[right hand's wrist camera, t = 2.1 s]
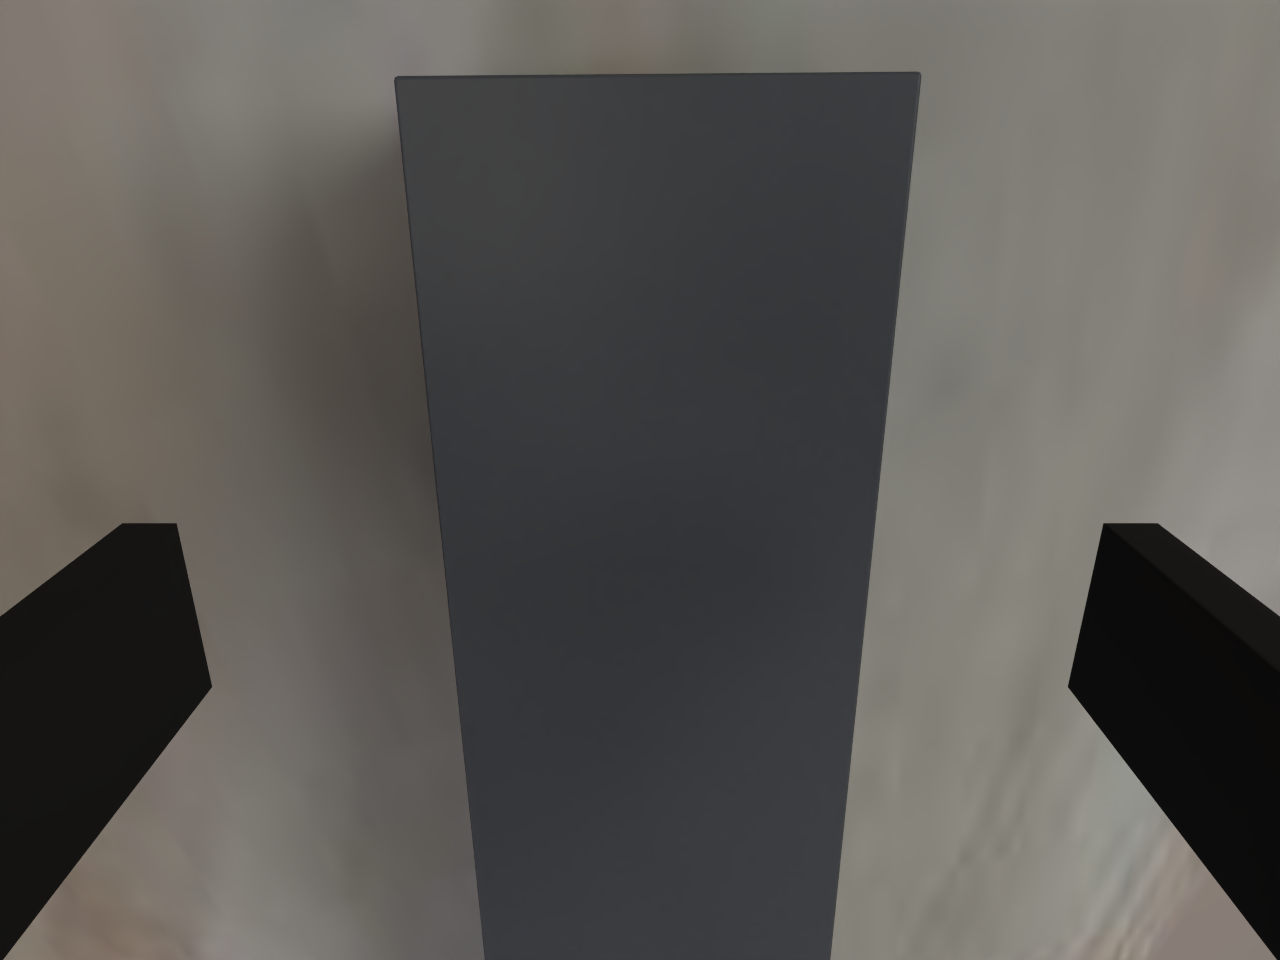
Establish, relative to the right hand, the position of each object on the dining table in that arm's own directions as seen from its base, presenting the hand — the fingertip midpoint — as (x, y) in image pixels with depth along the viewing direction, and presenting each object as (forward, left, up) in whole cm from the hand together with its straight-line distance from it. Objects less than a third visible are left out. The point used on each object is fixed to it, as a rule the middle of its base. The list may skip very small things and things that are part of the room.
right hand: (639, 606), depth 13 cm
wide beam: (+5, +17, -12) cm, 22 cm away
